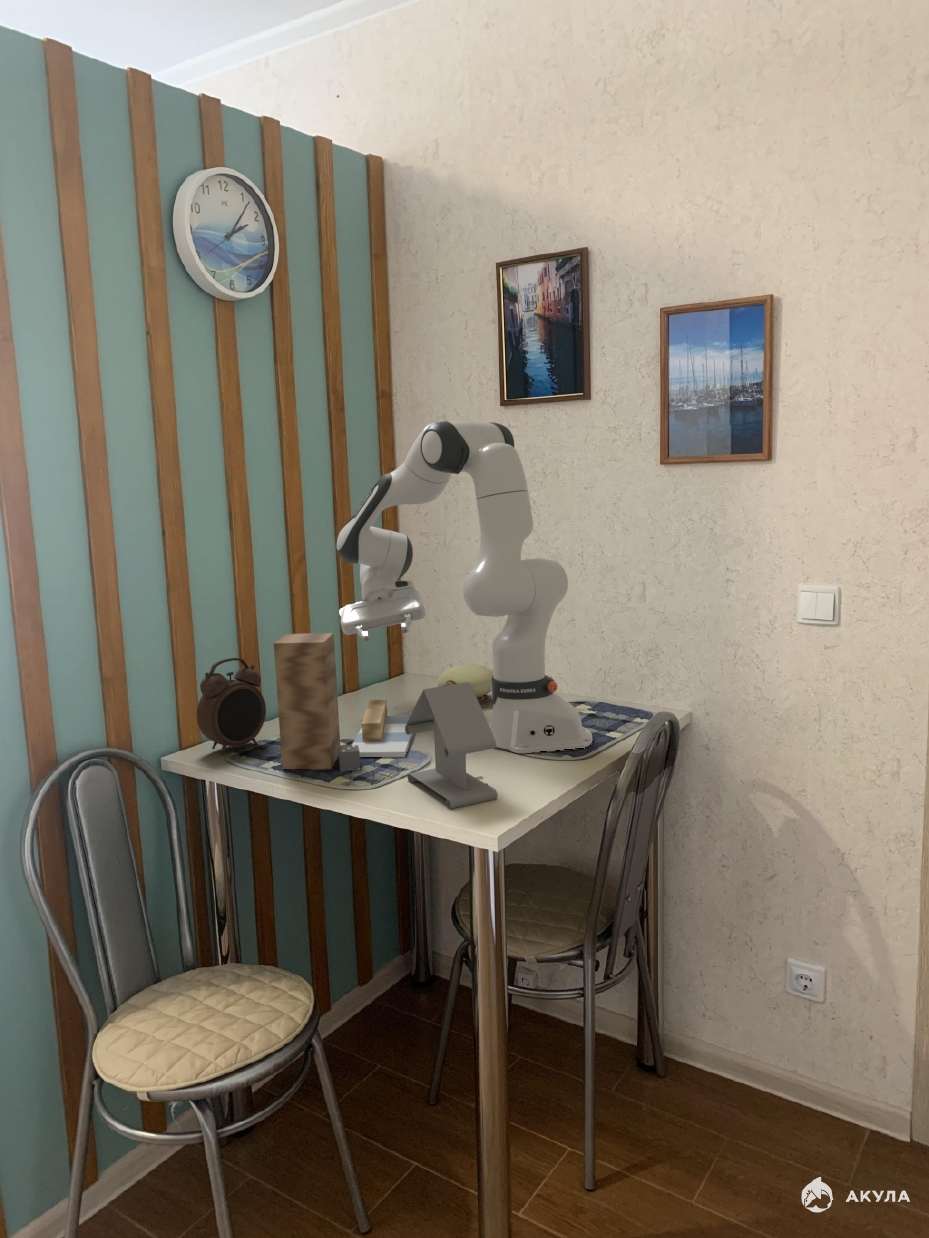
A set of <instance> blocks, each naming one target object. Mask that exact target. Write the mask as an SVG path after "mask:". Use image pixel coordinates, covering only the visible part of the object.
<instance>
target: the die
mask: <svg viewBox="0 0 929 1238" xmlns="http://www.w3.org/2000/svg"><path fill="white" fill-rule="evenodd" d="M338 752H339V758H338V765H339V766H340V767H339V771H340V770H347V769H358V768H360V769H361V758H360V752H359V747H358V745H353V746H351V745H344V746H342V745H340V747H338Z"/></svg>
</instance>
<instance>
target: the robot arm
mask: <svg viewBox="0 0 929 1238" xmlns="http://www.w3.org/2000/svg"><path fill="white" fill-rule="evenodd" d="M460 473H467V474H468V475H469V476H471V479H472V480H473V484H474V493H475V499H476V505H477V512H478V521H479V527H480V528H479V530H480V531H479V532H480V545H479V551H478V555H477V558H476V561H475V564H474V566H473V567H472V569H471V571H470V572H469V573H468V574H467V576H466V577H465V580H464V582H463V588H462V593H463V598H464V602H465V604H466V606H467V607H468V609H469V610H470V611H471V612H472V613H473V614H474V615H477V616H482V617H494V618H501V617H504V616H507V619H506V621H505V624H504V626H503V627H502V629H501V631H500V632H499V633H498V634H497V635H495V637H494V639H493V640H492V670H493V677H492V681H491V692H490V695H491V703H492V715H491V716H492V717H491V723H490V729H491V732H492V734H493V736H494V739H495V741H496V747H495V748H499V749H504V750H509V751H510V752H513V753H516V754H530V753H532V754H533V752H534V753H541V752H540V751H547V752H557V751H556V750H560V751H565V750H564V749H573V750H576V749H575V748H584V749H586V748H585V747H587V746H589V745H590V744H591V743H592V741H594V740H593V734H592V732H591V731H590V729H588V728H586V727H584V726H583V723H582V718H581V715H580V713H579V711H578V710H577V708H576V707H575V706H574V705H573V704H571V703H569V701H567V700H566V699H564V698H563V697H561V696H560V695H559V694H557V693H556V692H557V690H558V683H557V682H556V681H555V679H553V677H552V676H551V675H550V676H548V675H546V674H545V673H546V671H545V670H546V669H545V668H546V666H545V665H546V664H545V663H546V659H545V658H546V657H545V656H546V639H547V633H548V629H549V626H550V623H551V620H552V617H553V615H554V612H555V610H556V609H557V607H558V605H560V602H562V600H563V599H565V596H566V594H567V593H568V587H569V577H568V575H567V572H566V570H565V568H564V567H563V565H562V564H561V563H559V562H557V561H555V560H553V559H546V558H538V557H537V558H529V559H522V558H521V556H522V554H521V553H522V550H523V549H522V547H523V545H524V542H525V541H526V539H527V538H528V537H529V536H531V534H532V532H533V530H534V520H533V519H534V518H533V515H532V514H533V513H532V507H531V501H530V495H529V489H528V483H527V479H526V474H525V471H524V467H523V464H522V461H521V458H520V456H519V453H518V451H517V449H516V448H515V440H514V436H513V433H512V432H511V430H510V429H509V428H508V427H507V426H505V425H503V424H501V423H498V422H493V421H489V422H484V421H476V420H475V421H473V420H469V419H466V420H463V419H462V420H454V421H446V420H445V421H439V422H432V423H431V422H430V423H429V424H427V425H426V426H424V427H423V429H422V430H421V432H420V433H419V434H418V436H417V437H416V439H415V440H414V442H413V443H412V446H411V447H410V449H409V451H408V452H407V455H406V456H405V459H404V461H403V462H402V463H401V464H400V465H399V466H398V467H396V469H394V470H393V471H390V472H388V473H385V474H383V475H382V476H380V477H379V479H378V480H377V481H376V483H375V484H374V485H373V486H372V488H371V489H370V491H369V492H368V493H367V495H366V496H365V498H364V499H363V501H362V502H361V504H360V505H359V507H358V508H357V509H356V511H355V513H353V515H352V516H351V518H350V519H349V520H348V521H347V522H345V524H344V526H342V528H341V530H340V532H339V533H338V535H337V540H336V551H337V553H338V555H339V557H341V559H342V560H343V561H344V562H345V563H347V564H355V565H358V564H359V580H360V581H359V582H360V585H361V599H362V601H357V602H354V603H350V604H349V603H348V604H345V605H344V606H343V607H342V608H340V609H339V612H338V613H339V617H340V627H341V630H342V632H343V634H345V635H346V636H351V635H355V634H357V635H358V636H359V637H361V639H362V641H363V643H366V642H370V635H369V632H368V631H373V630H377V629H381V628H382V629H383V628H387V627H391V626H396V625H399V624H400V627H401V631H402V634H406V633H410V631H409V628H410V626H411V625H412V623H413V621H420V620H423V619H424V618H425V617H426V611H425V610H426V609H425V606H424V603H423V599H422V597H421V595H420V593H419V591H418V590H417V589H416V587H415V585H414V582H413V581H412V580H400V579H401V578H402V577H403V576H404V575H406V574H407V572H408V571H409V569H410V567H411V566H412V562H413V558H414V557H413V556H414V550H413V544H412V542H411V540H410V537H409V536H408V535H407V534H404V533H401V532H397V531H394V530H390V529H385V528H380V527H377V526H376V527H375V526H373V524H374V523H375V521H376V520H377V518H378V517H379V515H380V514H381V513H382V512H383V511H384V510H385V509H387V508H390V507H395V506H402V505H422V504H424V505H425V504H427V503H430V502H433V501H434V500H436V499H438V497H440V495H441V494H442V493H443V492H444V490H445V489H446V486H447V485H448V483H449V481H450V478H451V477H452V475H453V474H454V475H459V474H460ZM592 744H593V743H592ZM592 744H591V745H592ZM589 747H590V746H589Z"/></svg>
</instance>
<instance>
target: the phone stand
mask: <svg viewBox="0 0 929 1238" xmlns="http://www.w3.org/2000/svg"><path fill="white" fill-rule="evenodd" d="M410 715H411V716H410V718H409V720H408V722H407V724H406V726H405V732H406V734H407V735H409V734H419V733H424V732H425V733H426V732H430V731H431V732H432V731H433V737H434V738H433V740H434V762H435V763H434V764H435V768H430V769H424V770H421V771H415V772H409V773H407V781H408V783H410V784H413V783H417V782H421V784H423V785H425V786H426V787H428V788H430V789H431V790H432V791H434V792H435V793H437V794H439V795H440V796H442V797H444V799H446V800H445V806H446V808H447V809H449V810H453V809H457V808H461V807H466V806H470V805H474V804H479V803H484V802H488V801H493V800H497V799H498V791H497V790H496V788H494V787H492V786H490V785H488V784H487V783H485V782H483V781H481V780H480V779H479V778H476V776H473V775H471V774H470V773H468V772H467V761H466V760H467V759H466V758H467V757H466V755H467V754H472V753H477V752H482V751H487V750H491V749H495V748H497V747H496V741H495V739H494V736H493V734H492V732H491V726H490V725H489V722H488V720H487V719H486V716H485V713H484V711H483V708H482V706H481V704H480V702H478V697H476V695H475V693H474V690H473V688H472V686H471V683H470V682H467V683H461V684H454V685H448V686H442V687H438V686H437V687H431V688H430V687H429V688H424V689H423V690H422V692H421V694H420V696H419V697H418V700H417V701H416V704H415V705H414V707H413V710H412V712H411V714H410Z"/></svg>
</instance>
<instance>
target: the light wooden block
mask: <svg viewBox="0 0 929 1238" xmlns="http://www.w3.org/2000/svg"><path fill="white" fill-rule="evenodd" d="M387 716H388V701H387V699H369V702H368V703H367V708H366V710H365V712H364V717H363V719H362V722H361V728H362V739H363V742H365V741H381V740H382V736H383V732H384V728H385V724H386V720H387Z"/></svg>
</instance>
